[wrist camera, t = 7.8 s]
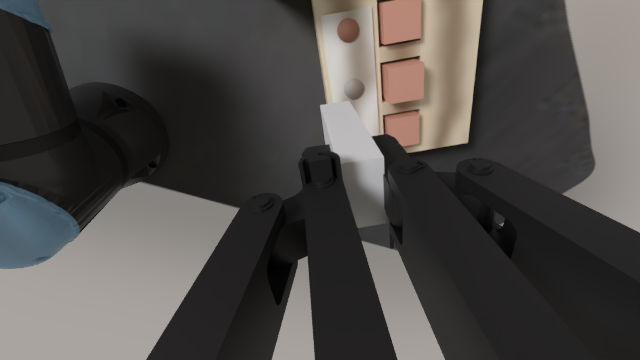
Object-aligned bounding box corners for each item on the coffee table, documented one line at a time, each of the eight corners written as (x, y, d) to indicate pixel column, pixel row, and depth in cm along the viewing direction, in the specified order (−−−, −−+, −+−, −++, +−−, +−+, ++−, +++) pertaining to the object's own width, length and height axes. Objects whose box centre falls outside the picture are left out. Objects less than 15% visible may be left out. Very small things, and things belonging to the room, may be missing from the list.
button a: (382, 139, 46) (388, 148, 43) (381, 111, 44) (387, 119, 41) (410, 134, 46) (419, 143, 43) (410, 106, 44) (419, 114, 40)
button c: (377, 41, 39) (384, 44, 36) (375, 3, 37) (382, 2, 34) (410, 35, 39) (420, 38, 36) (410, -4, 37) (421, -5, 33)
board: (333, 154, 48) (337, 166, 44) (310, -2, 37) (311, -3, 33) (455, 132, 48) (469, 144, 44) (469, -32, 37) (489, -36, 33)
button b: (382, 96, 41) (389, 104, 38) (380, 64, 39) (388, 69, 36) (413, 91, 41) (423, 98, 38) (413, 58, 39) (424, 62, 36)
